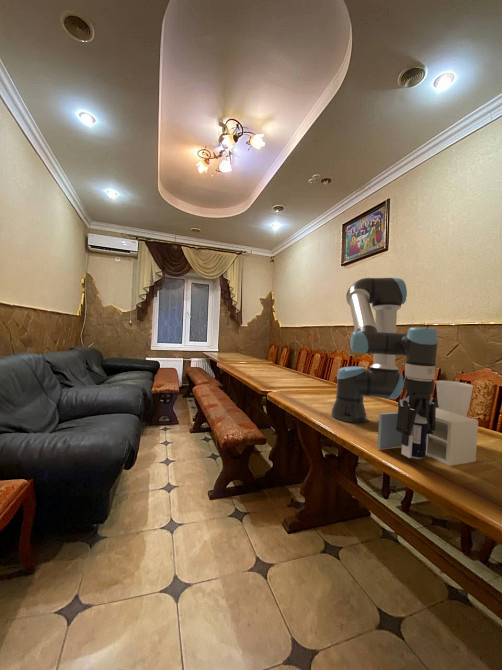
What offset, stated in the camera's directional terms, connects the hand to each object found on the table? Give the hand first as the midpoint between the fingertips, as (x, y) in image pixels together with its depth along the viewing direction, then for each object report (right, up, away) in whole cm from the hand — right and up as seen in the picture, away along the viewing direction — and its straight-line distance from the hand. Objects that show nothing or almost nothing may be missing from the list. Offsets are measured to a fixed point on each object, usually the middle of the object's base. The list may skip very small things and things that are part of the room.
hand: (414, 454), depth 78 cm
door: (-1, -2, +10) cm, 10 cm away
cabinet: (+13, -3, +7) cm, 15 cm away
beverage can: (0, -1, 0) cm, 1 cm away
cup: (+26, -4, +19) cm, 32 cm away
